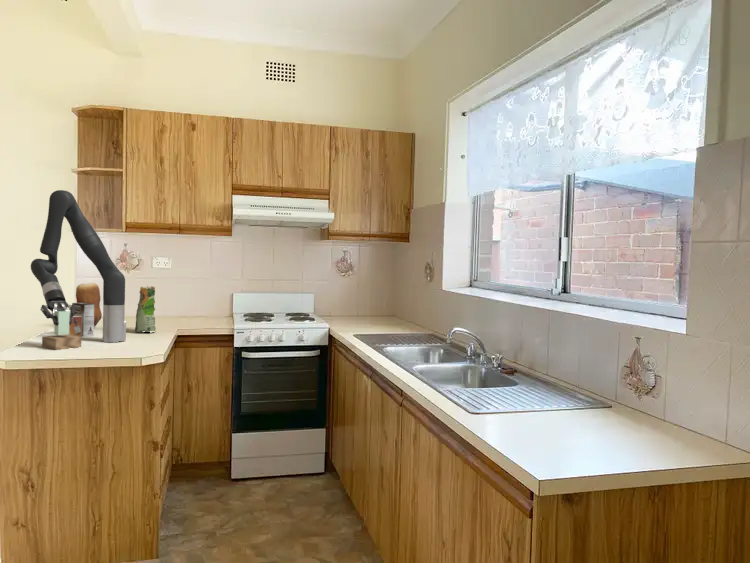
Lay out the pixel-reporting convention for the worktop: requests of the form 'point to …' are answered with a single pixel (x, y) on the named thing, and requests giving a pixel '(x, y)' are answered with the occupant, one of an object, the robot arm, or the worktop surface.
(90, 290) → the butternut squash
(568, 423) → the worktop surface
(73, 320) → the small box
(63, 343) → the riser
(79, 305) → the coffee box
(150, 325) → the pouch
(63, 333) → the sage green pillar
